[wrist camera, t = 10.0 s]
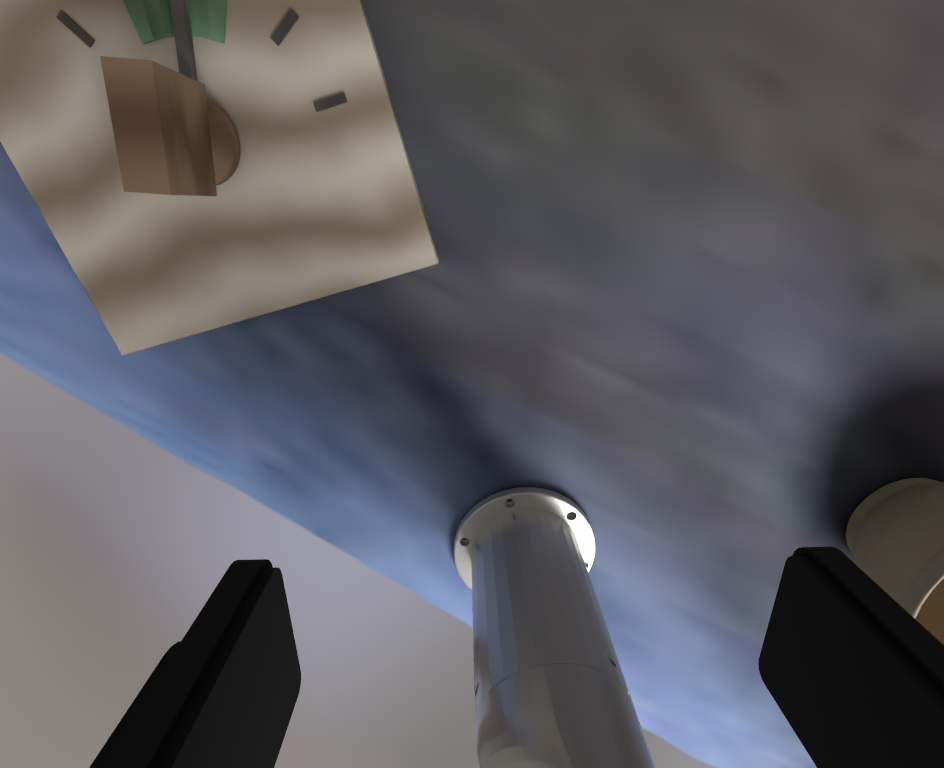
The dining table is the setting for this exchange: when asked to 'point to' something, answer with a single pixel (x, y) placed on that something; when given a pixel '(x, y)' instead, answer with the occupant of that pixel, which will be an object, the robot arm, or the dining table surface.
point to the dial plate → (247, 191)
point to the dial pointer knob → (169, 122)
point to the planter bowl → (904, 546)
